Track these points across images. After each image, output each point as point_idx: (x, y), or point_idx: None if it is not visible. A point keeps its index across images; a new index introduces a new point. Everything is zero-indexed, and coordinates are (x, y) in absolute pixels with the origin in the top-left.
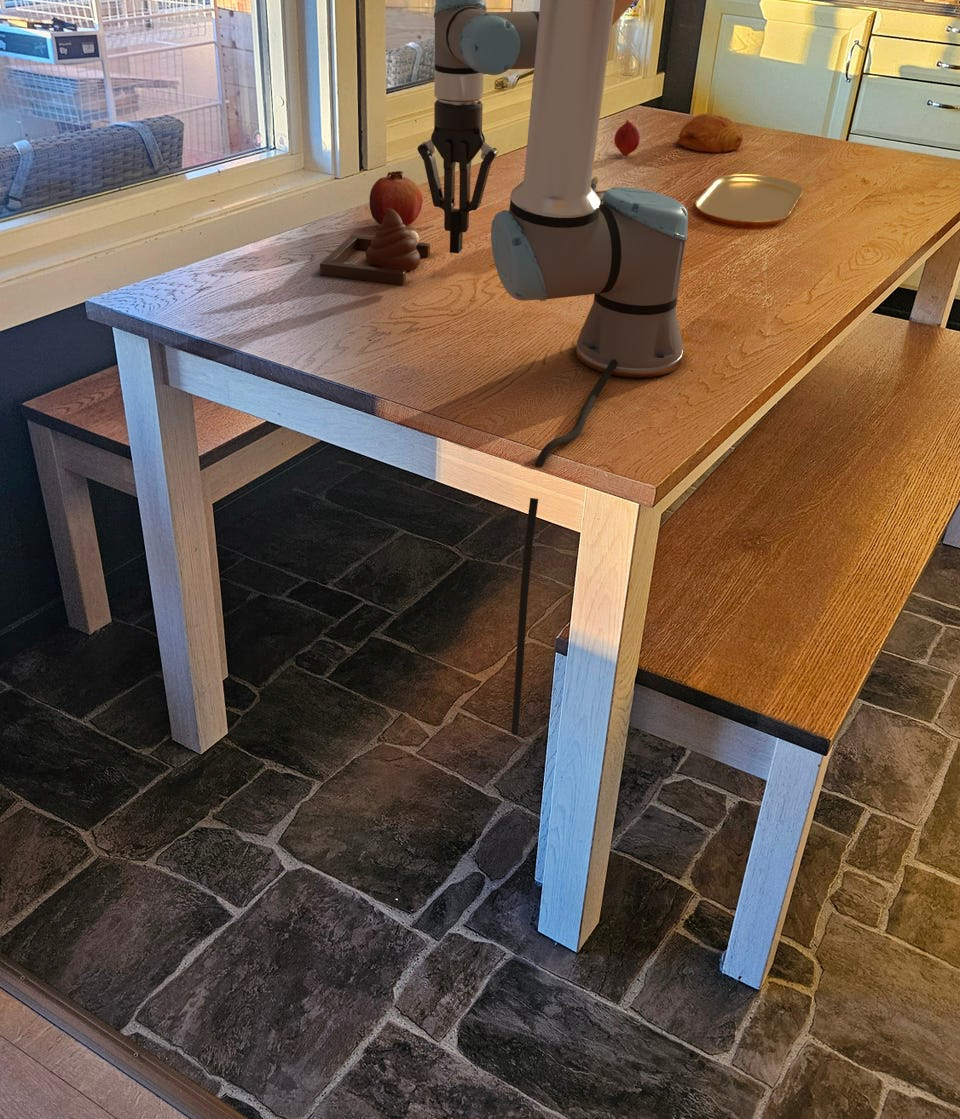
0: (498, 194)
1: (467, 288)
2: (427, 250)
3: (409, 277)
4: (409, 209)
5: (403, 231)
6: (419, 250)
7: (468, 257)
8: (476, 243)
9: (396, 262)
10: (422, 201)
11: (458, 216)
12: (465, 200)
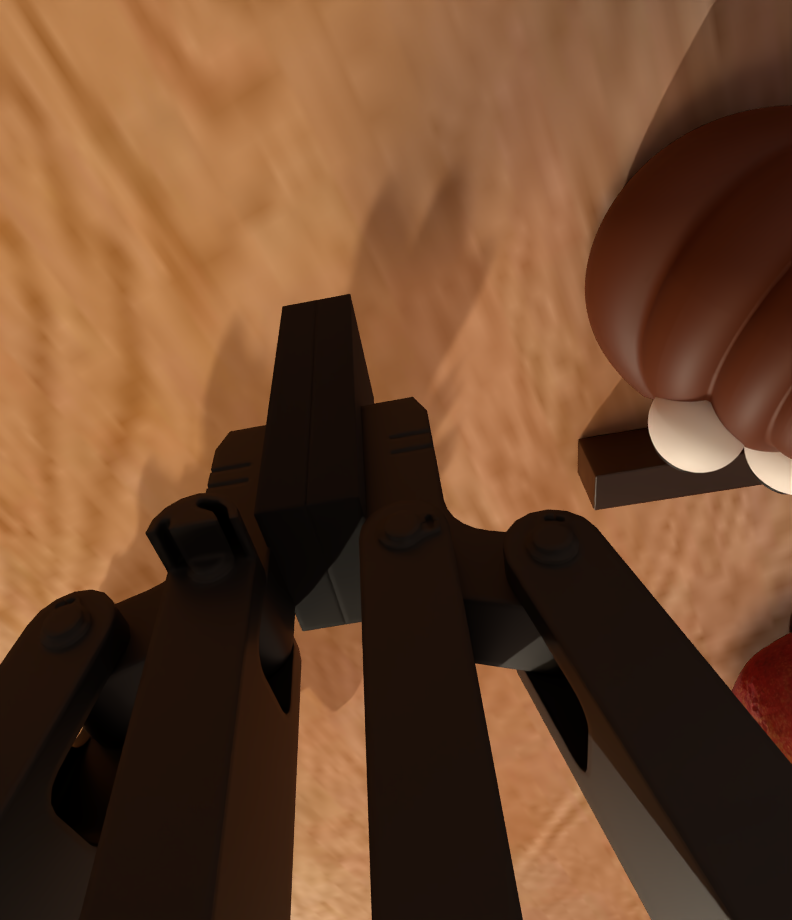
0: (526, 901)
1: (138, 88)
2: (590, 461)
3: (591, 91)
4: (781, 711)
5: (788, 350)
6: (633, 450)
7: None
8: None
9: (730, 136)
10: None
11: (264, 494)
12: (154, 668)
